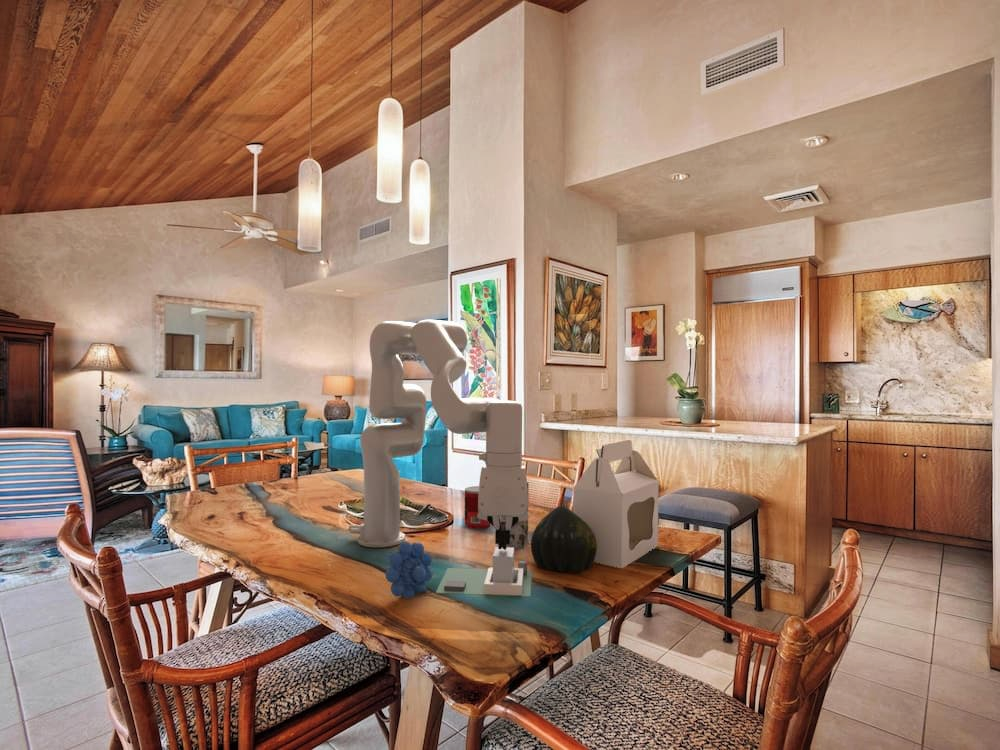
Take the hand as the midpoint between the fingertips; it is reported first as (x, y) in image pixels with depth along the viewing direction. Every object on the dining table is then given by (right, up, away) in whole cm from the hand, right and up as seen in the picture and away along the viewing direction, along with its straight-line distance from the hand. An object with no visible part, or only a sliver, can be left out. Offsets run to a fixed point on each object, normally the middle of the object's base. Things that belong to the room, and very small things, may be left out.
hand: (502, 547), depth 112 cm
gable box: (+29, -10, +25) cm, 40 cm away
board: (-3, -9, +2) cm, 10 cm away
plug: (0, -8, -1) cm, 8 cm away
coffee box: (+3, -9, +30) cm, 32 cm away
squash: (+14, -9, +12) cm, 21 cm away
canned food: (-7, -9, +49) cm, 50 cm away
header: (0, -8, -1) cm, 8 cm away
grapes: (-18, -9, -6) cm, 21 cm away
